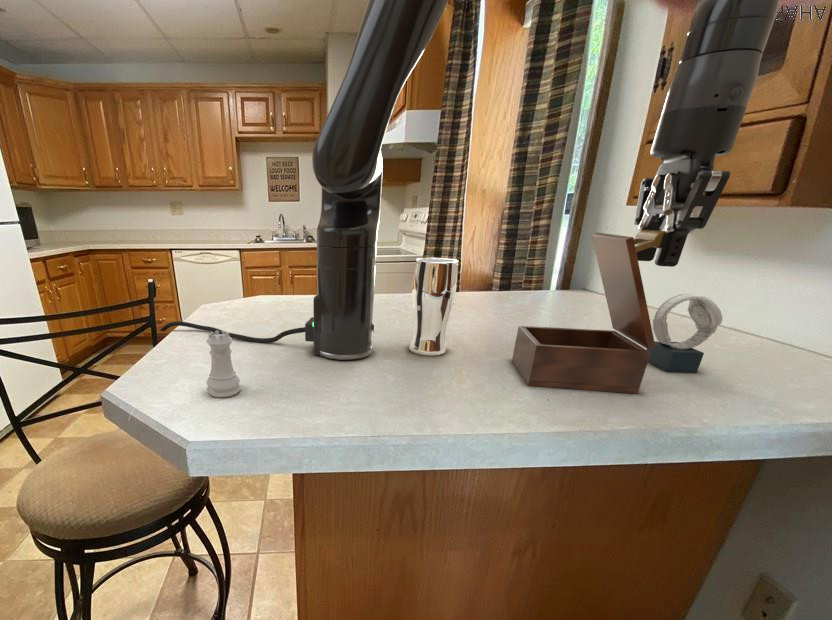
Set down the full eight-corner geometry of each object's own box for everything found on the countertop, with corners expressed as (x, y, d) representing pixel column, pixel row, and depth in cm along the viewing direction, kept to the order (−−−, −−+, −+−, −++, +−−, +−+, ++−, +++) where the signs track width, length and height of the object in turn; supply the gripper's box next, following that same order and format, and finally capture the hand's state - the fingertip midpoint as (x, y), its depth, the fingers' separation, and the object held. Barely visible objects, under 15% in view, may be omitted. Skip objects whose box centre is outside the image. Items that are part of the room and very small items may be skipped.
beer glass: (403, 353, 71) (410, 261, 65) (410, 342, 77) (418, 257, 71) (445, 358, 69) (457, 263, 63) (450, 346, 75) (461, 259, 69)
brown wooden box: (528, 385, 58) (536, 345, 56) (511, 360, 68) (518, 325, 66) (637, 394, 56) (651, 352, 54) (604, 366, 66) (615, 330, 63)
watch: (710, 373, 63) (739, 299, 59) (654, 371, 64) (678, 298, 60) (683, 360, 68) (708, 292, 64) (631, 359, 69) (652, 291, 65)
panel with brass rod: (625, 239, 50) (683, 218, 48) (591, 234, 59) (638, 216, 57) (648, 350, 54) (702, 334, 52) (612, 328, 63) (657, 314, 61)
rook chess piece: (224, 401, 53) (219, 340, 50) (199, 393, 55) (192, 334, 52) (248, 389, 57) (244, 331, 54) (223, 382, 59) (218, 326, 56)
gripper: (635, 121, 55) (599, 256, 62) (704, 94, 42) (649, 269, 49) (701, 120, 54) (656, 258, 60) (793, 92, 41) (723, 272, 47)
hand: (653, 262), depth 54 cm, fingers closed on panel with brass rod, 5 cm apart
